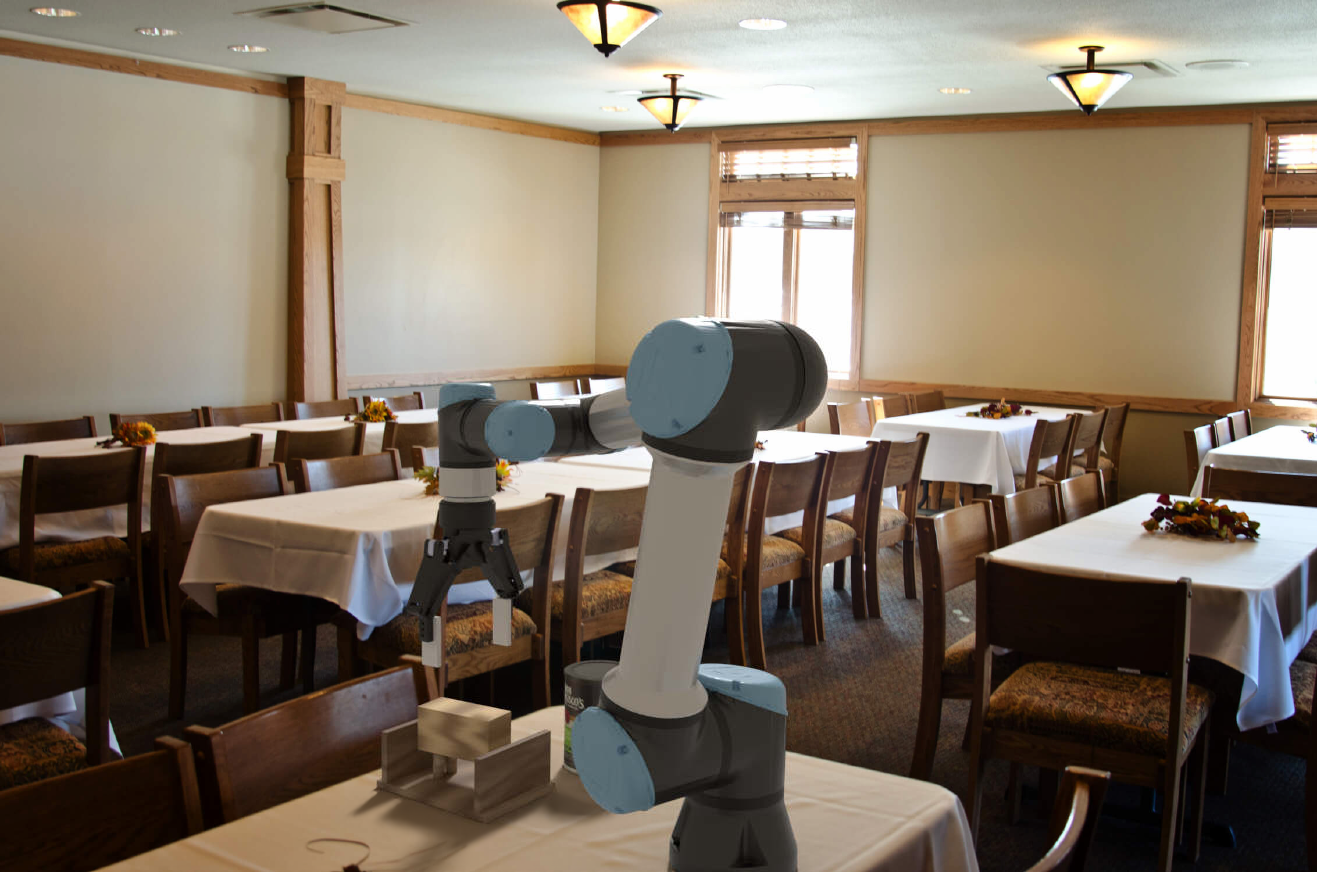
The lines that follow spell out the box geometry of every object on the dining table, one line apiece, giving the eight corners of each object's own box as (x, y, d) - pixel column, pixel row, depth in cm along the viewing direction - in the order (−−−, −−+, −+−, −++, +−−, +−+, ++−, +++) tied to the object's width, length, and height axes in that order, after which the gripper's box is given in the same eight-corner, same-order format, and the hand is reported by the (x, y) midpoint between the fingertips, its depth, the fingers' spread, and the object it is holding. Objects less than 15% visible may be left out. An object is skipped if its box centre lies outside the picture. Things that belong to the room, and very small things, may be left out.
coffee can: (578, 782, 163) (579, 682, 162) (553, 757, 173) (554, 663, 171) (645, 771, 168) (647, 675, 167) (617, 748, 177) (619, 656, 176)
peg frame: (555, 789, 161) (556, 732, 160) (485, 823, 149) (486, 761, 148) (449, 757, 172) (449, 704, 171) (376, 787, 160) (376, 729, 160)
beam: (510, 754, 160) (511, 711, 159) (488, 765, 155) (488, 721, 155) (441, 738, 165) (441, 696, 165) (417, 749, 161) (417, 706, 160)
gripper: (508, 487, 169) (508, 632, 171) (376, 505, 149) (378, 670, 150) (548, 491, 165) (548, 640, 167) (419, 510, 145) (420, 679, 146)
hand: (468, 654), depth 159 cm, fingers open, 13 cm apart
